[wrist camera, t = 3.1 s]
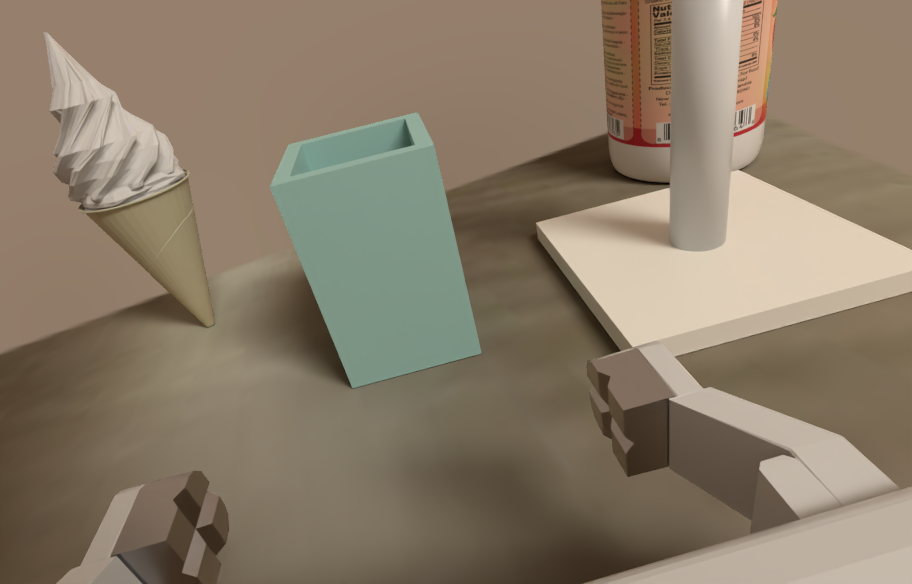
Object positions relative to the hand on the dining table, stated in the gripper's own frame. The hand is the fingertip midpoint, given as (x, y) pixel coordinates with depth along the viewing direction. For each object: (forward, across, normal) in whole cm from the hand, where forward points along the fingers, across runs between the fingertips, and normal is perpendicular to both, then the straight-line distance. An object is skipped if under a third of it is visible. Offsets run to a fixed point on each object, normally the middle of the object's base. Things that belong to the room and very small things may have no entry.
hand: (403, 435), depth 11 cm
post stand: (+12, -14, +6) cm, 19 cm away
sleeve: (+12, 0, +6) cm, 14 cm away
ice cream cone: (+18, +11, +6) cm, 22 cm away
